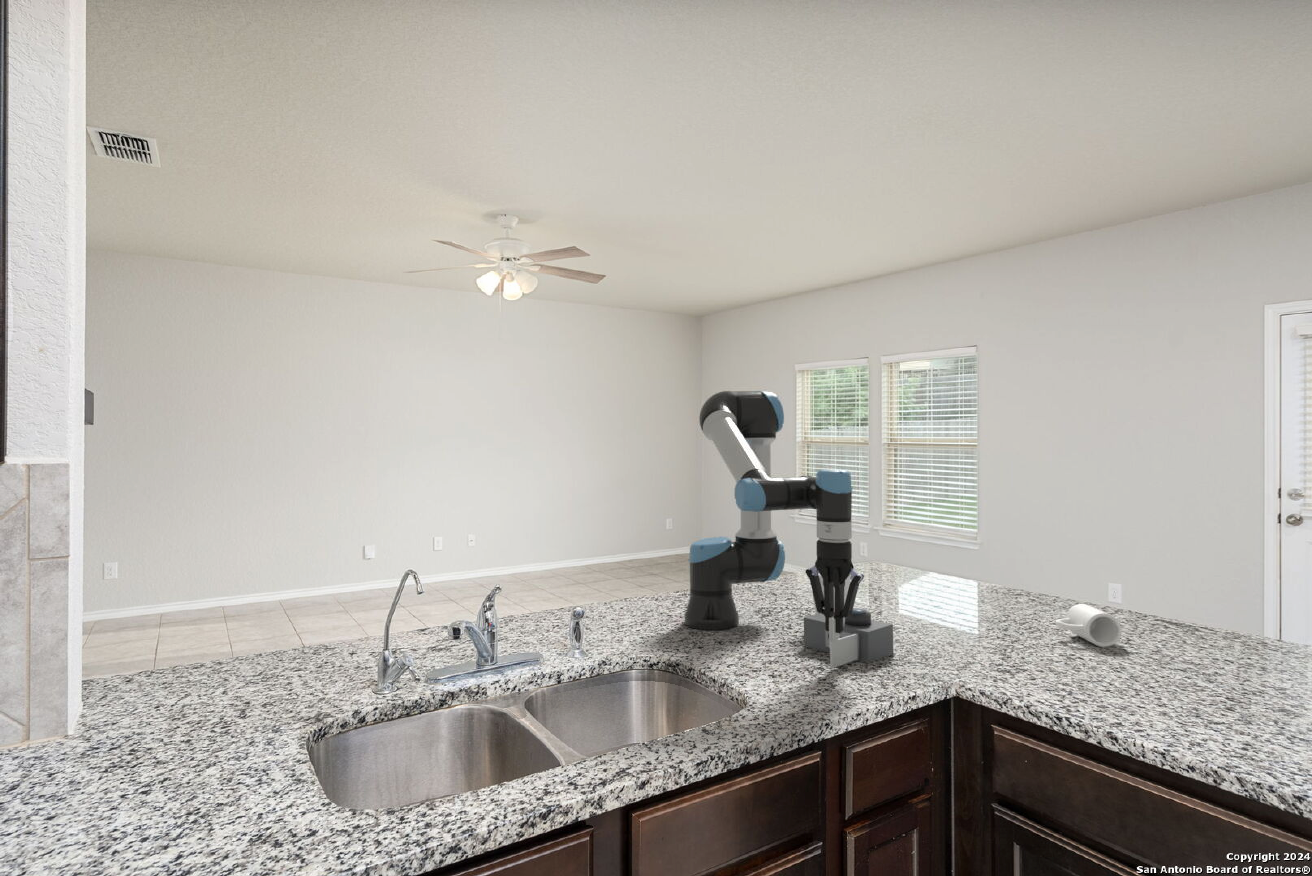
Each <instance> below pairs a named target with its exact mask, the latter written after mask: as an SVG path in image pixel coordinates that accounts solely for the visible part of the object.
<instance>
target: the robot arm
mask: <svg viewBox="0 0 1312 876" xmlns="http://www.w3.org/2000/svg"><path fill="white" fill-rule="evenodd" d="M698 420H699V421H698V422H699V425H700V429H701V431H702V433H703V434H704V437H706V438H707V439H708V440H710V441H712V442H713V444H714V446H715V447H716V449H717V451H718V453H719V455H720V457H721V458H722V460H723V462H724V463H725V465H726V467H727V469H728V470H729V473H730V474H731V476H732V477H733V479H734V481H735V482H736V483H735V486H734V499H735V503H736V504H735V505H736V506H737V507H738V509H739V510H740V529H739V530H738V531H737V532H735V536H734V537H735V541H732V540H731V538H730V537H727V536H717V537H715V536H713V537H708V538H707V537H706V538H703V539H702V538H701V539H699V540H696V541H694V542H692V544H691V545H690V547H689V555H688V556H689V557H688V563H689V593H690V594H689V600H688V603H687V606H686V611H685V612H684V616H683V617H684V624H685V626H687V627H690V628H692V629H696V630H697V629H698V630H706V631H715V630H716V631H717V630H719V631H720V630H726V629H727V630H728V629H732V628H735V627H737V626H738V625H739V623H740V614H739V612H738V611H737V608H736V604H735V600H734V598H733V585H735V584H738V585H739V584H749V583H766V582H771V581H774V580H777V579H778V578H779V577H780V575H782V573H783V571H784V567H785V564H786V551H785V550H784V543H782V541H781V540H779V539H778V538H777V533H776V532H775V531H774V530H773V529H772V511H787V510H788V511H791V510H815V511H816V537H817V538H818V539H817V541H816V561H815V563H814V565H813V566H812V567H810V568H807V569H805V574H806V576H807V578H808V579H809V582H810V585H811V587H810V588H811V591H812V597H813V596H814V600H815V605H816V609H817V612H818V613H822V614H823V615H824V616H825V629H826V631H829V648H830V641H832V640H836V639H839V633H841V632H842V631H843V618H844V617H847V616H849V615H851V614H852V611H853V608H854V605H855V602H856V598H857V594H858V590H859V585H860V584H861V582H862V581H863V579H864V578H865V576H864V574H863V573H859V572H858V571H856V569H854V564H853V562H852V557H853V555H852V554H853V551H852V547H853V546H852V545H853V544H852V543H853V542H851V541H850V540H851V539H852V537H853V532H852V528H853V527H852V515H853V514H852V503H853V501H852V500H853V499H852V495H853V486H852V475H851V472H850V471H848V470H845V469H820V470H818V471H817V472H816V476H812V475H799V476H794V477H793V476H791V477H772V474H771V473H772V472H771V470H772V469H771V466H772V465H771V461H772V458H771V456H772V455H771V454H772V453H771V445H772V444H773V442H774V441H775V440H776V439H777V437H776V436H777V433H778V432H780V431H782V429H783V426H784V425H783V424H784V422H785V413H784V407H783V403H782V402H781V400H780V398H779V397H778V396H777V395H776V394H775V393H773V392H771V391H765V390H764V391H762V390H747V391H746V390H743V391H742V390H741V391H740V390H736V391H734V390H733V391H732V390H724V391H723V390H722V391H719V392H716V393H714V394H713V395H711V396H710V397H708V398H707V399H706V401H705V402H704V403H703V405H702V407H701V409H700V412H699V419H698ZM819 573H820V575H821V576H822V578H823V586H824V596H823V592H822V587H821V583H820V579H819V576H818V574H819ZM849 575H851V577H850V581H851V583H850V585H849V589H848V593H847V597H846V601H845V605H844V586H845V580H846V579H847V578H848V576H849ZM834 588H835V609H834ZM833 614H834V616H833Z"/></svg>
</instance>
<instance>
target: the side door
mask: <svg viewBox="0 0 1312 876" xmlns="http://www.w3.org/2000/svg"><path fill="white" fill-rule="evenodd" d="M858 659H859V634H858V633H855V634H853V635H849V636H846V637H843V638H839V639H836V640H832V641H830V653H829V664H830V665H829V666H830V668H831V669H833V668H836V667H840V666H843V665H845V664H848V663H852V662H854V661H857V660H858Z"/></svg>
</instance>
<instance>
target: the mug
mask: <svg viewBox="0 0 1312 876" xmlns="http://www.w3.org/2000/svg"><path fill="white" fill-rule="evenodd" d="M1055 626H1056V627H1058V628H1060V629H1062V630H1067V631H1068V630H1069V631H1070V632H1071V633H1073V634H1074V635H1076V636H1078V637H1080V638H1081V639H1084V640H1086V641H1087V642H1089V643H1091V644H1093V645H1095V646H1097V647H1102V648H1109V647H1112V646H1113V645H1115V644H1117V643H1118V641H1119V640H1120V639H1121V637H1122V632H1123V631H1122V626H1121V623H1120V622H1119V620H1118V619H1117V618H1116V617H1115V616H1113V615H1112V614H1109V613H1107V612H1106V611H1102V610H1100V609H1099V608H1096V607H1093V606H1091V605H1089V604H1084V603H1080V604H1079V603H1078V604H1076V605H1073V606H1071V608H1069V609H1068V610H1067V611H1066V614H1065V617H1064V618H1059V619H1056V620H1055Z"/></svg>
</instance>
